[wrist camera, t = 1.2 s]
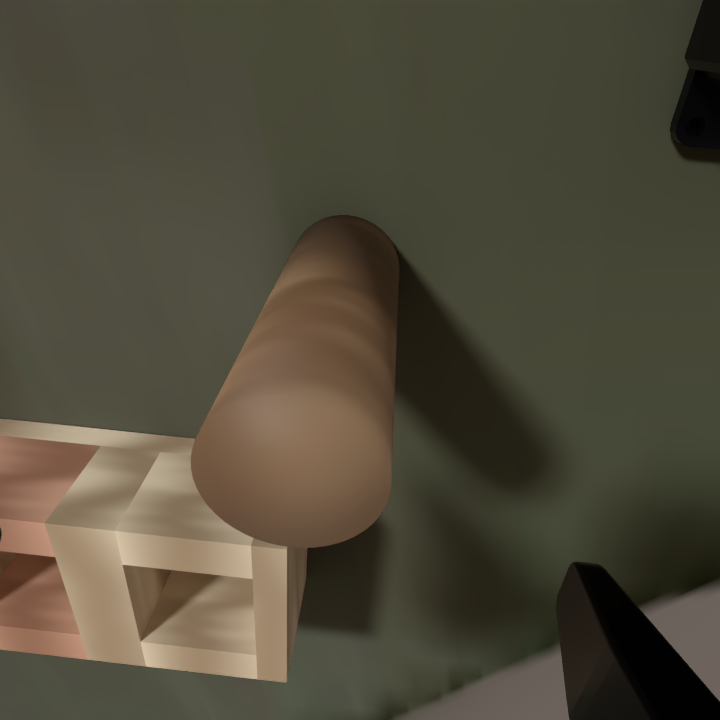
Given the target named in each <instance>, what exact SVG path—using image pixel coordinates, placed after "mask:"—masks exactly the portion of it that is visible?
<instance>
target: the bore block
mask: <svg viewBox="0 0 720 720" xmlns="http://www.w3.org/2000/svg"><path fill="white" fill-rule="evenodd" d="M194 442H195V439H192V438H183V437H173V436H164V435H154V434H144V433H135V432H125V431H115V430H106V429H96V428H87V427H77V426H67V425H58V424H48V423H38V422H29V421H19V420H9V419H0V527H1V531H2V536H1V541H0V649H1V650H10V651H19V652H27V653H36V654H44V655H53V656H62V657H70V658H79V659H88V660H96V661H105V662H113V663H122V664H131V665H139V666H148V667H156V668H165V669H174V670H182V671H191V672H200V673H208V674H217V675H225V676H234V677H243V678H251V679H260V680H269V681H277V682H286V683H287V679H288V673H289V668H290V662H291V657H292V652H293V646H294V641H295V636H296V630H297V625H298V619H299V614H300V609H301V603H302V598H303V593H304V587H305V582H306V569H307V548H295V547H286V546H279V545H275V544H270V543H266V542H263V541H260V540H258V539H255V538H252V537H250V536H248V535H246V534H244V533H242V532H240V531H238V530H236V529H235V528H233V527H232V526H230V525H229V524H227V523H226V522H224V521H223V520H222V519H221V518H220V517H218V516H217V515H216V514H215V513H214V512H213V511H212V510H211V509H210V508H209V506H208V505H207V504H206V503H205V501H204V500H203V498H202V497H201V495H200V493H199V492H198V490H197V488H196V485H195V483H194V480H193V476H192V471H191V453H192V448H193V445H194Z"/></svg>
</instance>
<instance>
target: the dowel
mask: <svg viewBox="0 0 720 720" xmlns="http://www.w3.org/2000/svg"><path fill="white" fill-rule="evenodd" d="M399 268H400V267H399V259H398V255H397V252H396V249H395V247H394V245H393V243H392V241H391V240H390V239H389V237H388V236H387V235H386V234H385V233H384V232H383V231H382V230H381V229H380V228H379V227H377V226H376V225H374V224H373V223H371V222H369V221H367V220H365V219H362V218H359V217H355V216H349V215H339V216H332V217H328V218H325V219H322V220H320V221H318V222H316V223H314V224H313V225H311V226H310V227H309V228H308V229H307V230H306V231H305V232H304V233H303V234H302V235H301V236H300V238H299V239H298V241H297V243H296V245H295V247H294V249H293V251H292V253H291V255H290V257H289V259H288V260H287V262H286V264H285V266H284V268H283V270H282V272H281V274H280V276H279V278H278V280H277V282H276V284H275V286H274V288H273V290H272V292H271V293H270V295H269V297H268V299H267V301H266V303H265V305H264V307H263V309H262V311H261V313H260V315H259V317H258V319H257V321H256V323H255V325H254V326H253V328H252V330H251V332H250V334H249V336H248V338H247V340H246V342H245V344H244V346H243V348H242V350H241V352H240V354H239V356H238V358H237V359H236V361H235V363H234V365H233V367H232V369H231V371H230V373H229V375H228V377H227V379H226V381H225V383H224V385H223V387H222V389H221V390H220V392H219V394H218V396H217V398H216V400H215V402H214V404H213V406H212V408H211V410H210V412H209V414H208V416H207V418H206V420H205V422H204V423H203V425H202V427H201V429H200V431H199V433H198V435H197V437H196V439H195V442H194V445H193V448H192V453H191V471H192V476H193V480H194V483H195V485H196V488H197V490H198V492H199V493H200V495H201V497H202V498H203V500H204V501H205V503H206V504H207V505H208V506H209V508H210V509H211V510H212V511H213V512H214V513H215V514H216V515H217V516H218V517H220V518H221V519H222V520H223V521H224V522H226V523H227V524H229V525H230V526H232V527H233V528H235V529H236V530H238V531H240V532H242V533H244V534H246V535H248V536H250V537H252V538H255V539H258V540H260V541H263V542H266V543H270V544H275V545H279V546H286V547H295V548H315V547H323V546H328V545H333V544H337V543H340V542H343V541H346V540H348V539H350V538H353V537H355V536H357V535H358V534H360V533H361V532H363V531H365V530H366V529H367V528H368V527H370V526H371V525H372V524H373V523H374V522H375V521H376V520H377V519H378V517H379V516H380V515H381V513H382V512H383V510H384V509H385V506H386V504H387V502H388V499H389V495H390V491H391V472H392V447H393V421H394V395H395V370H396V344H397V319H398V293H399Z"/></svg>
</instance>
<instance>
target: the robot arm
mask: <svg viewBox="0 0 720 720" xmlns="http://www.w3.org/2000/svg"><path fill="white" fill-rule="evenodd" d="M685 60H686V62H687V64H688V66H689V71H688V74H687V77H686V80H685V83H684V86H683V89H682V92H681V95H680V98H679V101H678V104H677V107H676V110H675V113H674V116H673V119H672V122H671V127H670V133H671V136H672V138H673V139H674V140H675V141H676V142H678V143H680V144H683V145H686V146H690V147H701V148H713V149H720V0H703V2H702V5H701V8H700V11H699V14H698V17H697V21H696V24H695V27H694V30H693V33H692V36H691V39H690V42H689V45H688V48H687V51H686V54H685ZM694 117H698V118H699V120H700V121H699V126H698V128H697V129H696V131H694V132H693V133H691V134H687V133H686V125H687V124H688V122H689V121H690V120H691V119H693V118H694ZM1 536H2V531H1V527H0V541H1ZM556 610H557V620H558V628H559V637H560V646H561V655H562V663H563V672H564V681H565V689H566V698H567V705H568V713H569V719H570V720H720V701H719V700H718V699H717V698H716V697H715V696H714V695H713V693H711V691H710V690H709V689H708V688H707V686H706V685H705V684H704V683H703V682H702V681H701V679H700V678H699V677H698V676H697V675H696V674H695V673H694V672H693V670H692V669H691V668H690V667H689V666H688V664H687V663H686V662H685V661H684V660H683V659H682V657H681V656H680V655H679V654H678V653H677V652H676V651H675V649H674V648H673V647H672V646H671V645H670V644H669V643H668V642H667V640H666V639H665V638H664V637H663V635H662V634H661V633H660V632H659V631H658V630H657V629H656V627H655V626H654V625H653V624H652V623H651V622H650V620H649V619H648V618H647V617H646V616H645V615H644V613H643V612H642V611H641V610H640V609H639V608H638V607H637V605H636V604H635V603H634V602H633V601H632V600H631V598H630V597H629V596H628V595H627V594H626V593H625V591H624V590H623V589H622V588H621V587H620V586H619V585H618V583H617V582H616V581H615V580H614V579H613V578H612V576H611V575H610V574H609V573H608V572H607V571H606V570H605V569H604V568H603V567H602V566H600V565H598V564H594V563H585V562H573V563H572V564H571V565H570V566H569V568H568V571H567V573H566V576H565V578H564V581H563V583H562V585H561V588H560V590H559V593H558V596H557V603H556Z"/></svg>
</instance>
